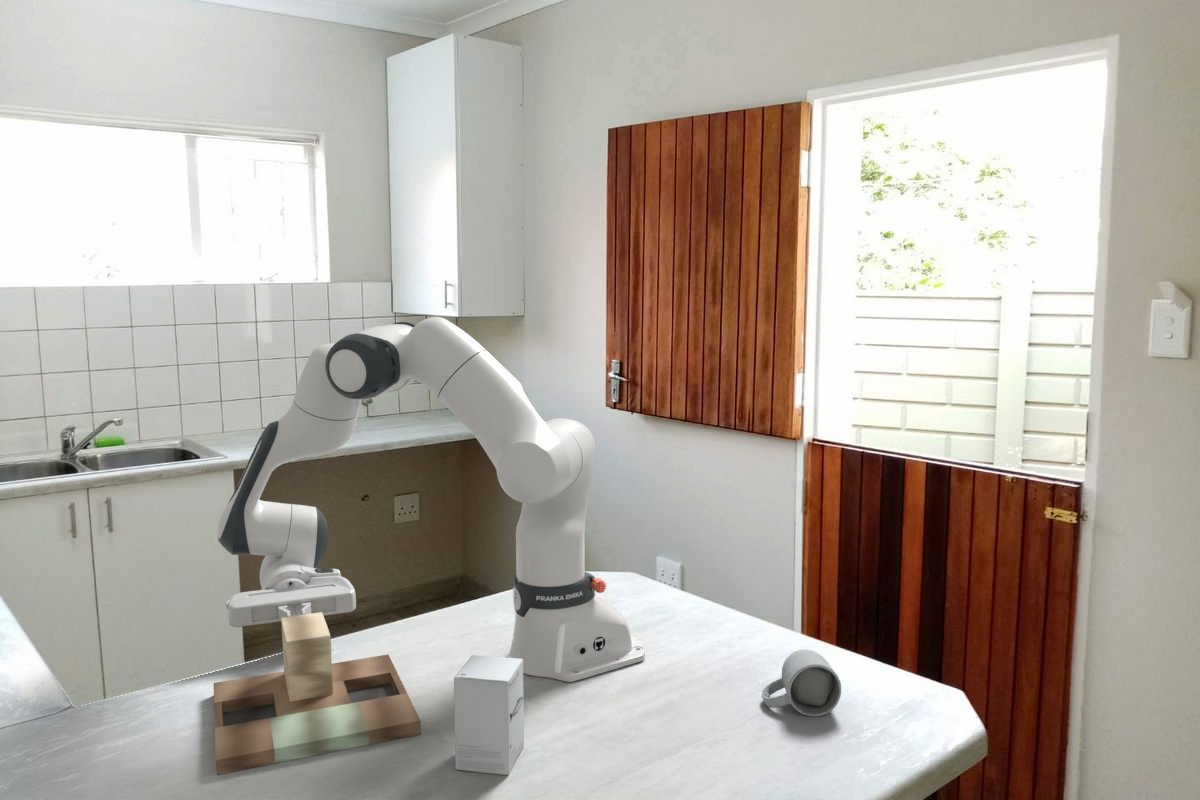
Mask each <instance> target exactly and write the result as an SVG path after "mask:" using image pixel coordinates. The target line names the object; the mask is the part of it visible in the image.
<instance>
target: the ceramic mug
mask: <svg viewBox="0 0 1200 800" xmlns="http://www.w3.org/2000/svg"><path fill="white" fill-rule="evenodd" d="M782 689H785V692H786V693H784V694H782V695H778V696H772V697H771V695H773V694H775V693H776V692H778V691H780V690H782ZM841 697H842V684H841V680H840V678H839V676H838V674H837V673H836V671H835V670H834V669H833V667H832V666H831V665H830V663H829V662H828V661H827V659H826V658H825V657H824V656H823V655H821V654H820V653H818V652H816V651H814V650H811V649H808V648H807V649H799V650H796V651H793V652H792V653H790V654H789V655H788V656H787V658H785V660H784V662H783V664H782V668H781V677H780V678H778V679H776V680H774V681H772V682H770V683H769V684H767V685H766V686H765V687H764V688H763V689H762V691H761V698H762V700H763V703H764V705H765V706H766V707H768V708H770V709H771V708H772V709H777V708H782V707H784V706H788V705H791V706H792V707H793V708H794V709H795V711H796V712H798V713H799V714H801V715H804V716H807V717H813V718H815V717H821V716H825V715H828V714H829V713H831V712H832V711H833V710H834V709H835V708H836V707H837V705H838V704H839V702H840V699H841Z"/></svg>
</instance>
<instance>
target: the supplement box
mask: <svg viewBox="0 0 1200 800" xmlns="http://www.w3.org/2000/svg"><path fill="white" fill-rule="evenodd" d="M453 697H454V699H453V701H454V702H453V704H454V706H453V707H454V742H455V743H454V752H455V759H454V760H455V770H459V771H466V772H475V773H482V774H492V775H500V776H503V775H504V776H509V775H510V773H511V771H512V768H513V766H514V764H515V762H516V761H517V759H518V757H519V756H520V753H521V752H522V751H523V749H524V747H525V736H524V735H525V728H524V727H525V725H524V724H525V722H524V721H525V719H524V716H525V711H524V708H525V707H524V706H525V705H524V703H525V702H524V673H523V659H519V658H508V657H503V656H492V655H474V654H473V655H471V656H470V657H469V659H468V660H467V661H466V662H465V663H464V665H463V666H461V669H460V670H459V671H458V672H457V673H456V675H455V676H453Z"/></svg>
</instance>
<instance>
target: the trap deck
mask: <svg viewBox="0 0 1200 800" xmlns="http://www.w3.org/2000/svg"><path fill="white" fill-rule="evenodd" d="M332 681H333V694H331V695H326V696H320V697H314V698H309V699H303V700H297V701H292V702H290V700H289V695H288V690H287V685H286V680H285V675H284V671H279V672H274V673H273V672H272V673H267V674H260V675H254V676H248V677H242V678H236V679H230V680H223V681H218V682H213V706H214V708H213V709H214V710H213V712H214V740H215V741H214V742H215V743H214V744H215V746H214V748H215V766H216V767H215V769H216V770H215V771H216V775H217V776H218V774H219V775H223V774H222V773H224V774H227V773H226V772H229V773H233V771H234V772H238V771H243V770H248V769H252V768H253V769H254V768H258V767H264V766H267V765H268V766H269V765H274V764H278V763H283V762H288V761H293V760H298V759H299V760H300V759H304V758H308V757H314V756H319V755H323V754H328V753H333V752H338V751H344V750H348V749H355V748H359V747H362V746H368V745H369V746H370V745H373V744H377V743H378V744H379V743H383V742H388V741H389V742H390V741H393V740H399V739H403V738H404V739H405V738H409V737H413V736H414V737H415V736H420V735H421V734H422V729H421V728H422V722H421V719H420V717H419V714H418V712H417V711H416V708H415V706H414V704H413V701H412V700H411V698H410V696H409V694H408V692H407V690H406V687H405V685H404V684H403V681H402V680H401V677H400V676H399V673H398V671H397V669H396V667H395V665H394V662H393V661H392V659H391V657H390V655H389V654H382V655H376V656H370V657H365V658H358V659H353V660H346V661H340V662H333V663H332Z"/></svg>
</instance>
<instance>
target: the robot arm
mask: <svg viewBox="0 0 1200 800" xmlns="http://www.w3.org/2000/svg"><path fill="white" fill-rule="evenodd" d="M302 369H303V370H302V372H301V375H300V377H299V380H298V383H297V386H296V389H295V393H294V398H293V401H292V404H291V406H290V407H289V409H288V411H287V412H286V413H284V415H283V416H282V417H281V418H279V419H278V420H275V421H273V422H270V423H268V424H267V425H266V427H265V428H264V430H263V431H262V433H261V434H260V436H259V438H258V440H257V442H256V444H255V446H254V448H253V450H252V453H251V454H250V457H249V459H248V462H247V464H246V466H245V468H244V469H243V472H242V474H241V477H240V478H239V481H238V482H237V486H236V488H235V489H234V492H233V493H232V496H231V497H230V499H229V501H228V503H227V504H226V506H225V508H224V509H223V511H222V513H221V514H220V518H219V521H218V524H217V540H218V542H219V543H220V545H221V546H222V547H223V549H225V550H226V551H227V552H228V553H229V554H231V555H232V556H251V555H252V556H253V555H254V556H255V555H256V556H264V558H263V560H262V562H261V565H260V571H259V583H260V587H261V589H258V590H250V591H248V590H247V591H243V592H238V593H236V594H234V595H232V596H231V598H230V599H227V600H226V601H225V608H226V609H227V610H228V622H229V624H228V625H229V626H231V627H233V628H242V627H248V626H249V627H250V626H256V625H262V624H263V625H264V624H265V625H266V624H271V623H278V622H281V618H284V617H291V616H298V615H305V614H312V613H319V612H322V613H323V616H328V615H329V616H330V615H336V614H343V613H344V614H345V613H351V612H353V611H354V610H356V609H357V599H356V598H357V597H356V590H355V588H354V586H353V584H352V583H351V581H350V580H348V578H346V577H344V576H342V574H341V571H340V569H338V568H320V567H319V565H320V564H322V562H323V560H324V558H325V555H326V551H327V548H328V547H327V546H328V541H329V529H328V528H329V527H328V523H327V520H326V517H325V516H324V514H323V512H321V510H320V509H319V508H318V507H317V506H312V505H311V506H310V505H305V504H304V505H303V504H297V503H296V504H295V503H285V502H284V503H283V502H277V501H266V500H261V495H262V494H263V491H264V490H265V488H266V485H267V484H268V481H269V479H270V478H271V475H272V473H273V471H275V470H276V469H277V468H278V467H279V466H282V465H284V464H287V463H290V462H293V461H296V460H302V459H307V458H315V457H320V456H321V457H322V456H324V455H328V454H330V453H333V452H335V451H337V450H338V449H340V448H341V447H343V446H344V445H346V443H347V442H348V441H349V440H350V438H351V436H352V435H353V432H354V430H355V427H356V425H357V421H358V418H359V413H360V410H361V405H362V401H363V400H368V399H372V398H376V397H378V396H379V395H380V396H381V395H384V394H387V393H393V392H396V391H398V390H401V389H403V388H406V387H407V386H409V385H411V384H413V383H416V382H419V383H421V384H422V385H424V386H425V388H427V389H428V390H429V391H430V392H431V393H432V394H433V395H434V396H435V397H436V399H438V400H439V401H440V402H441V403H442V404H443V405H444V406H445V407H446V408H447V409H448V410H449V411H450V412H451V413H452V414H453V415H454V416H455V417H456V418H457V419H458V420H459V421H460V422H461V423H462V424H463V425H464V426H465V427H466V428H467V429H468V430H469V431H470V432H471V433H472V435H473V436H474V438H476V440H477V442H478V443H479V444H480V446H481V447H482V449H483V451H484V452H485V453H486V455H487V456H488V458H489V460H490V461H491V463H492V464H493V466H494V468H495V470H496V476H497V480H498V482H499V483H498V484H499V486H500V487H501V488H502V490H503V492H504V493H505V494H506V495H507V496H508V497H510V498H511V499H513V500H515V501H516V502H519V503H522V506H521V511H520V515H519V519H518V521H517V525H516V529H515V554H516V555H515V556H516V558H515V560H516V561H515V562H516V563H515V564H516V565H515V567H516V573H515V575H514V577H513V588H512V595H513V597H512V600H513V607H514V612H515V615H514V616H515V618H514V619H515V620H514V627H513V634H512V640H511V645H510V649H509V653H508V655H507V658H519V659H523V674H526V675H528V676H529V675H530V676H533V677H541V678H542V677H543V678H552V679H556V680H559V681H561V682H562V681H563V682H568V683H569V682H570V683H572V682H577V681H579V680H583V679H587V678H590V677H592V676H593V677H594V676H596V675H597V676H598V675H600V674H603V673H606V672H609V671H613V670H617V669H620V668H623V667H626V666H629V665H633V664H636V663H640V662H642V661H645V657H646V654H645V648H644V645H643V644H642V643H641V641H639V639H638V638H636V637H635V636H634V635H632V634H631V629H630V626H629V623H628V620H627V618H626V617H625V615H624V614H623V613H622V612H621V610H620V609H618V608H616V607H615V606H614V605H613V604H611V603H609V602H608V601H607V600H605V599H604V598H602V597H601V596H600V595H598V594H602V593H604V592H605V590H606V589H607V583H606V582H605V581H604V580H602V579H601V578H599V577H595V576H594V575H593V574H591V573H590V572H588V571H586V568H585V564H586V563H585V558H586V557H585V554H586V553H585V547H586V546H585V531H586V521H587V520H586V519H587V512H588V505H589V497H590V491H591V482H592V480H591V479H592V473H593V471H592V470H593V464H594V459H595V455H596V443H595V438H594V436H593V433H592V432H591V431H590V429H589V428H588V427H587V426H586V425H585V424H584V423H582V422H580V421H578V420H576V419H572V418H571V419H570V418H563V417H562V418H561V417H560V418H559V417H557V418H553V419H549V420H547V421H545V420H544V419H543V418H542V416H540V414H539V413H538V412H537V410H536V408H535V406H533V405H532V403H531V401H530V400H529V398H528V397H527V395H526V393H525V389H524V387H523V384H522V383H521V381H519V380H518V378H516V377H515V376H514V375H513V374H512V373H511V372H510V371H509V370H508V369H507V368H506V367H505V366H504V365H502V364H501V362H500V361H498V360H497V358H495V357H494V356H493V355H492V354H491V353H490V352H489V351H488V350H487V349H486V348H485V346H482V345H481V343H479V342H478V341H477V340H476V338H475V339H474V338H473V337H472V336H471V335H470V334H469V333H467V332H466V331H464V330H463V329H462V328H460V327H459V326H458V325H456V324H454V323H453V322H451V321H450V320H448V319H447V318H444V317H442V316H441V317H440V316H431V317H428V318H427V317H426V318H425V319H423V320H421V321H419V322H418V323H414V322H410V321H409V322H408V321H399V322H394V323H391V324H384V325H376V326H371V327H369V328H366V329H363V330H361V331H359V332H358V331H357V332H356V333H350V334H347V335H345V336H343V338H341V339H339V340H338V341H336V342H334V343H332V342H330V343H325V344H321V345H319V346H317V347H316V348H314V349H313V350H312V351H311V352H310V355H309V357H308V358H307V360H306V362H305V365H304V367H303V368H302ZM317 567H319V568H317ZM596 592H597V593H598V594H596Z"/></svg>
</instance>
